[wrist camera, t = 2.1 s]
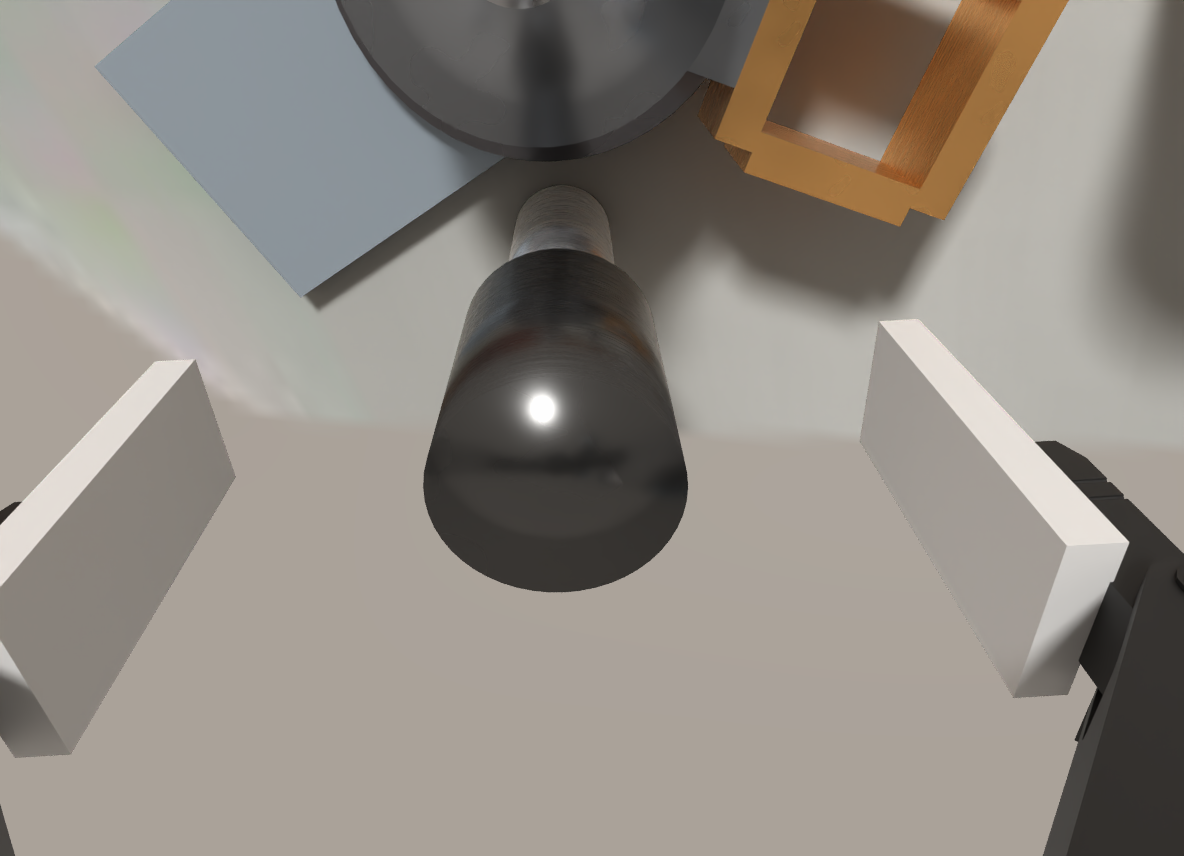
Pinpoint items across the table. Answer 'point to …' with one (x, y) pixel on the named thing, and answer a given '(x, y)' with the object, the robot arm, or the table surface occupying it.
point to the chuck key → (557, 414)
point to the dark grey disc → (558, 153)
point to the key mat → (287, 128)
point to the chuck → (713, 50)
